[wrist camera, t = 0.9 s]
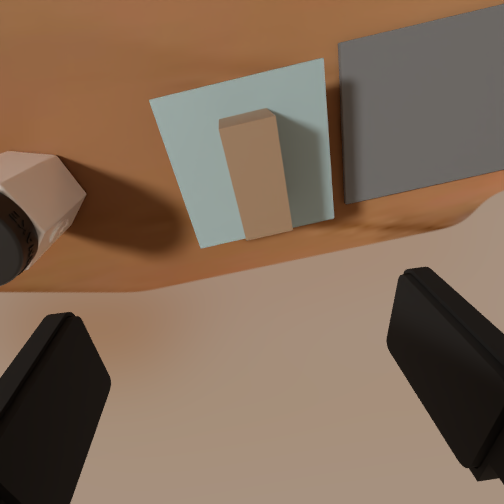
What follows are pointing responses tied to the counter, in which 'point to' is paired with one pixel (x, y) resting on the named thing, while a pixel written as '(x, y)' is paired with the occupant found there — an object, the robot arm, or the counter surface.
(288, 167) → the cover
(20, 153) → the jar
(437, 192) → the counter surface
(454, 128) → the mat
